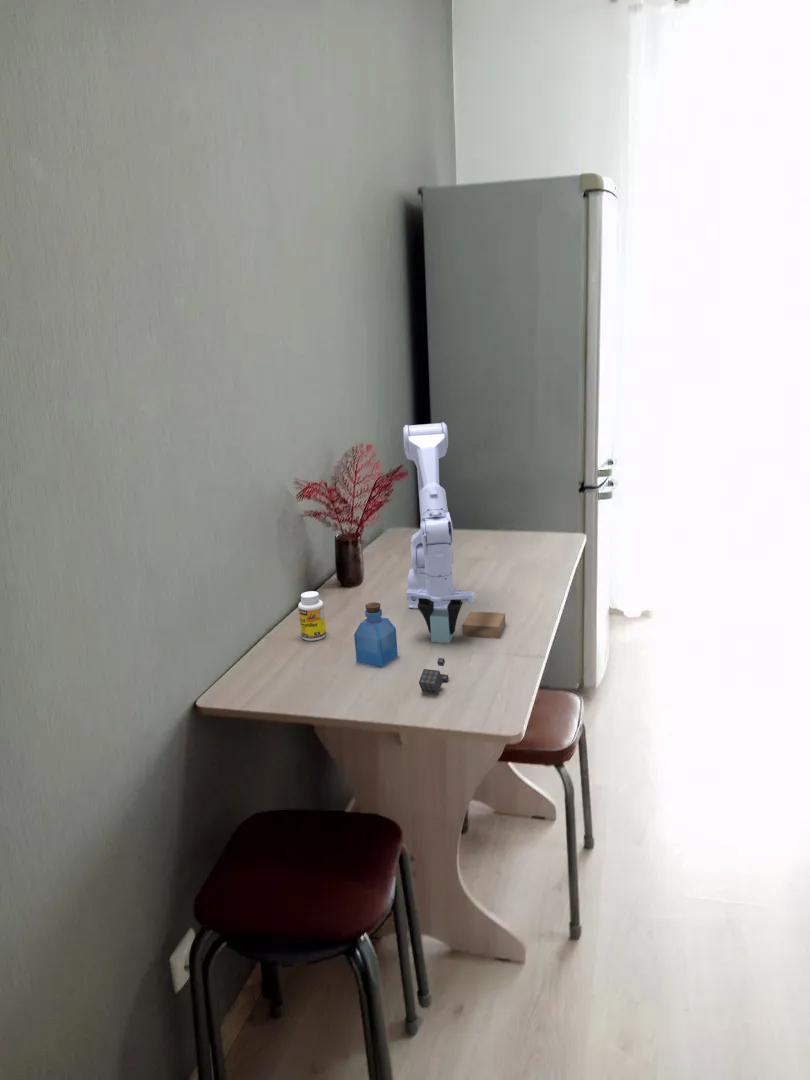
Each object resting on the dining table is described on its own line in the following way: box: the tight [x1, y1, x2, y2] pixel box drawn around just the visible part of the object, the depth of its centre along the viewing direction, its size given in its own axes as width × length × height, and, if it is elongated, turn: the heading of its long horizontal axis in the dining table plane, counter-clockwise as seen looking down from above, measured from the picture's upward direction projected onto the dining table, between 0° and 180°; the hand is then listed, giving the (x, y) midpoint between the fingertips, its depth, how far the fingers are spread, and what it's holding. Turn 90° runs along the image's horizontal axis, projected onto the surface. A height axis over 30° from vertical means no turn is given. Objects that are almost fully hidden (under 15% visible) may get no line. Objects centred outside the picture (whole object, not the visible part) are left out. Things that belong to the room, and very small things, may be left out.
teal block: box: [430, 609, 455, 644], centre depth 176 cm, size 4×4×6 cm
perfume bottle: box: [353, 601, 399, 669], centre depth 168 cm, size 6×6×12 cm
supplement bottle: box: [297, 590, 327, 642], centre depth 182 cm, size 6×6×10 cm
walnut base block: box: [461, 610, 506, 639], centre depth 180 cm, size 8×8×3 cm
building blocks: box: [418, 657, 449, 695], centre depth 156 cm, size 3×6×8 cm
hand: (442, 631), depth 177 cm, fingers closed on teal block, 4 cm apart
